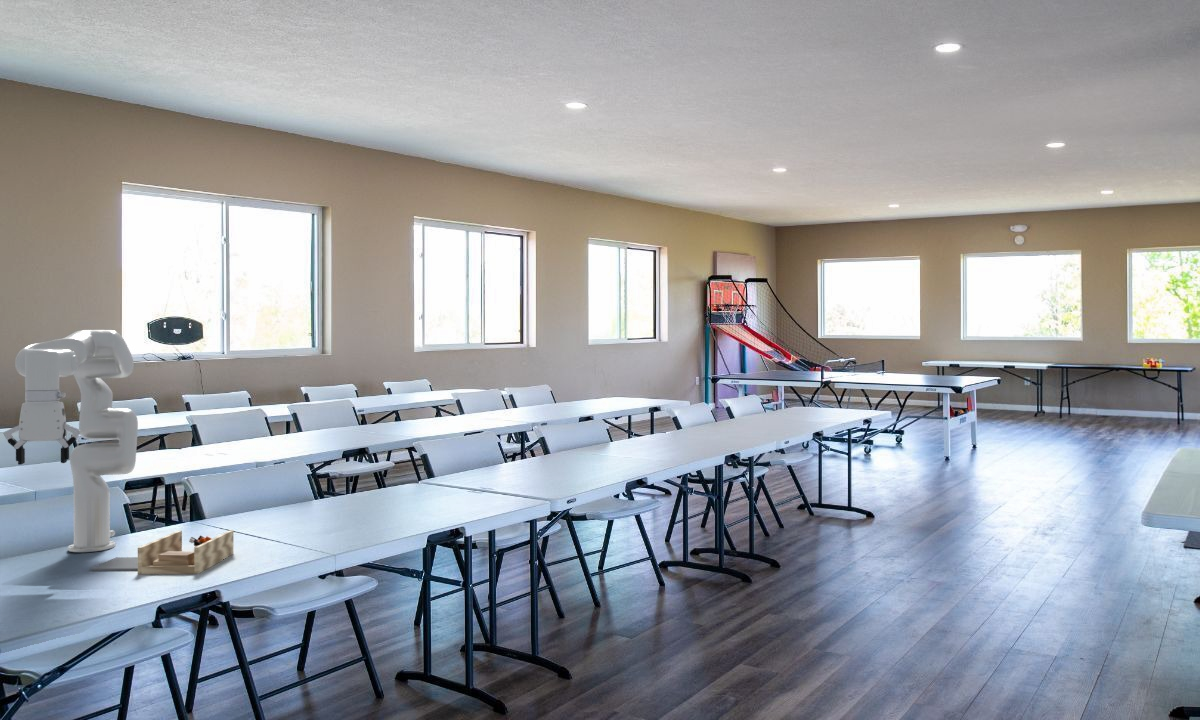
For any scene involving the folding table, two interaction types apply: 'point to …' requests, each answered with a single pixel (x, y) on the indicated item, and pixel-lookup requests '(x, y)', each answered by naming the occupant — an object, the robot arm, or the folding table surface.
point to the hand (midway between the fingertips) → (42, 463)
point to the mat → (118, 564)
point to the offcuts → (175, 558)
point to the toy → (199, 540)
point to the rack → (203, 553)
